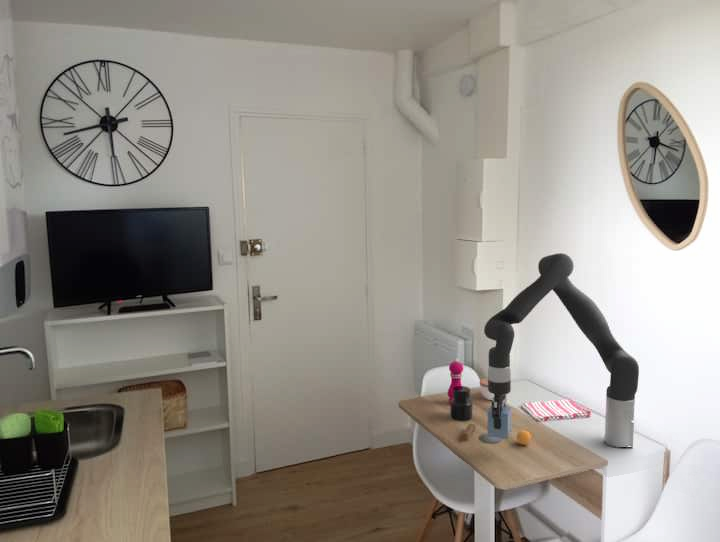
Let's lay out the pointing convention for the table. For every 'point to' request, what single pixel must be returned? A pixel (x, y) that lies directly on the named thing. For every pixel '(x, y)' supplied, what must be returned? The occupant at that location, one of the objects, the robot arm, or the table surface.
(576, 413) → the dish towel
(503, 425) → the blue gray block
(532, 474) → the table surface
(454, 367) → the pepper mill
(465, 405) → the ink bottle
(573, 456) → the table surface
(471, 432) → the strip
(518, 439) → the ball
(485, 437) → the gray ellipsoid
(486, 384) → the lidded jar
